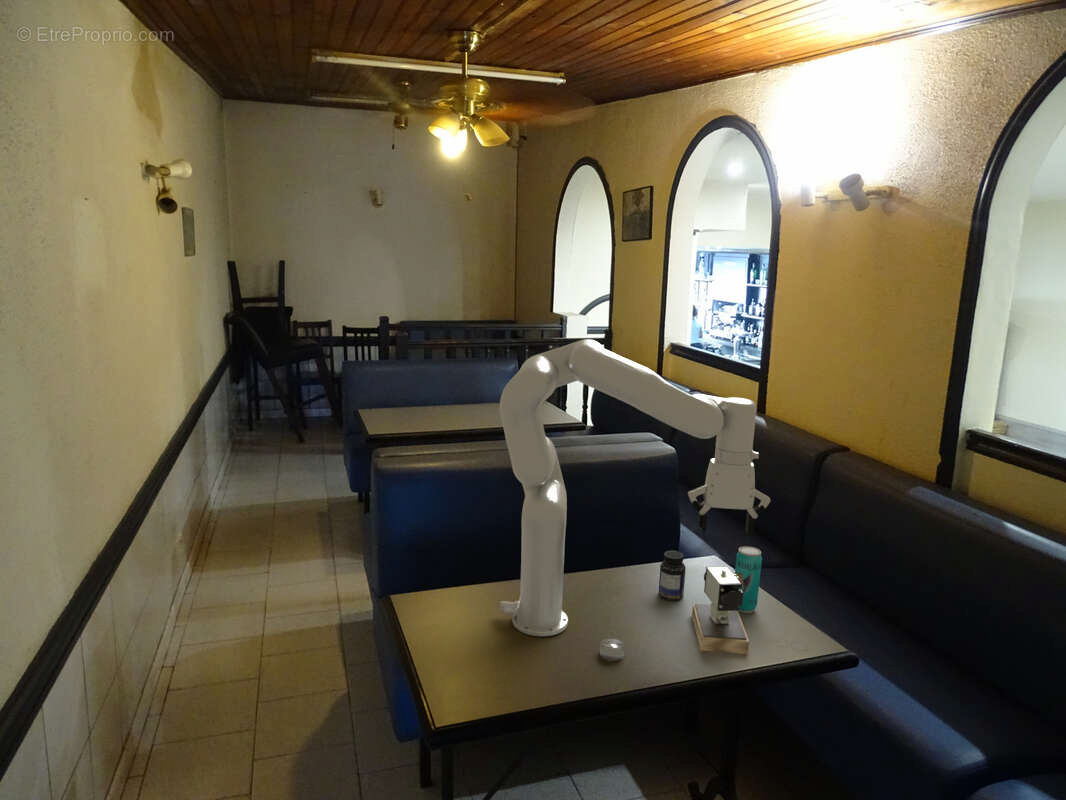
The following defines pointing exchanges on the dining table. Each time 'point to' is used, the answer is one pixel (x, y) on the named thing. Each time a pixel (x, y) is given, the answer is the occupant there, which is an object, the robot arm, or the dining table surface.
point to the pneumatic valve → (722, 593)
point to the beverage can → (748, 576)
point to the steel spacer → (611, 649)
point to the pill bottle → (672, 576)
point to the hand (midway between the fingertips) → (725, 531)
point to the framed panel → (719, 632)
